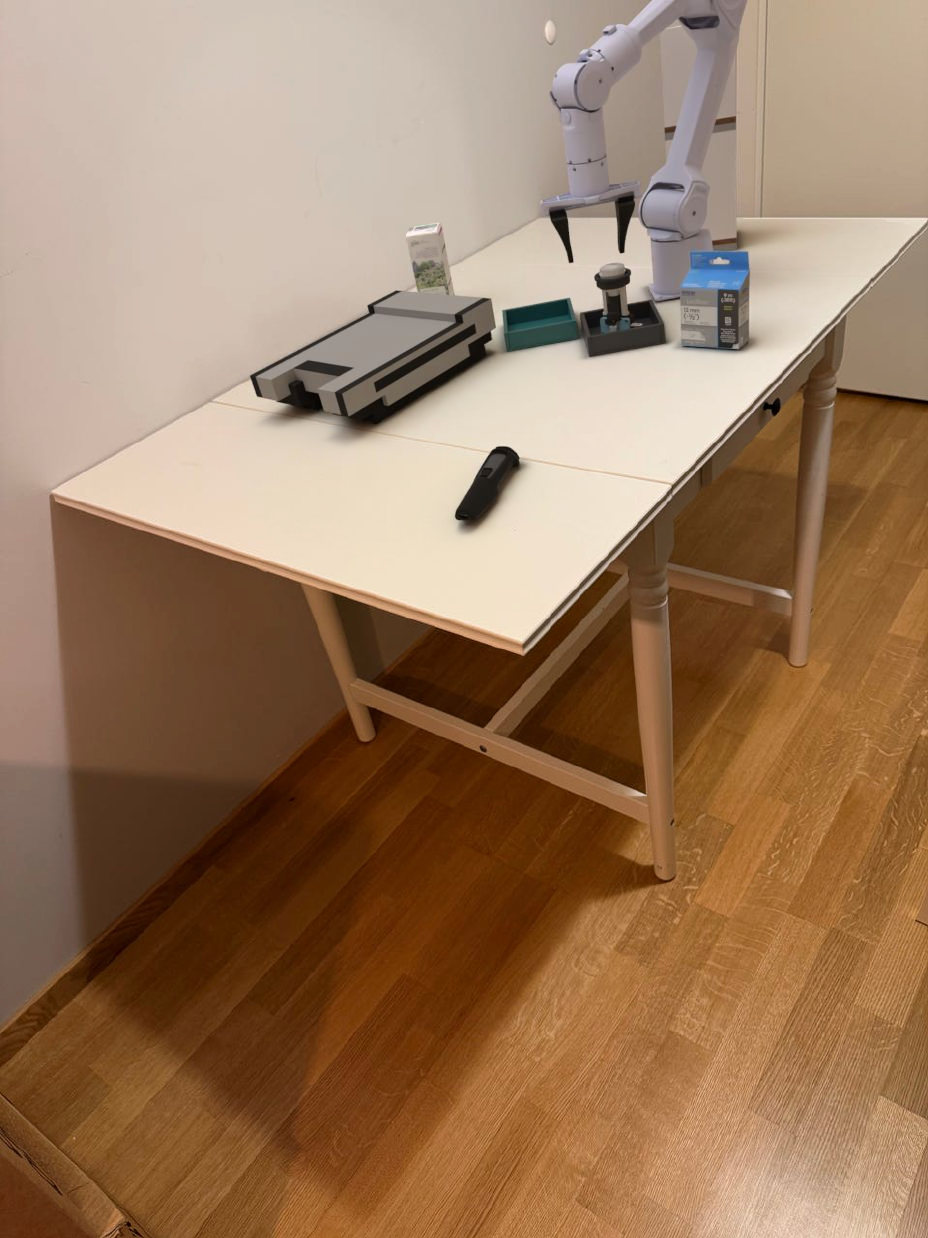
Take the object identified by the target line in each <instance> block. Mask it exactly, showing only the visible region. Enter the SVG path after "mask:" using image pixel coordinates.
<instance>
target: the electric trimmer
mask: <svg viewBox="0 0 928 1238" xmlns="http://www.w3.org/2000/svg"><path fill="white" fill-rule="evenodd" d="M520 463H521V462H520V456H519V454H518V453H517V451H516V450H515V449H513V448H512V447H510V446H507V445H499V446H496V447H495V448H493V449H491V450H490V452H489V454H488V455H487V456H486V458H485V460H484V461H483V463H482V464H481V466H480V468H479V470H478V471H477V473H476V475H475V477H474V479H473V481H472V483H471V485H470V487H469V488H468V490H467V492H466V493H465V494H464V497H463V498H462V500H461V501H460V503H459V505H458V506H457V508H456V509H455V513H454V519H455V520H456V521H463V522H465V521H467V522H474V521H476V520H477V519H478V518H479V517H480V516H481V515H482V514H483V513H484V512H485V511H486V510H487V509H488V508H489V507H490V506H491V504H492V503H493V502H494V501H495V500H496V499H497V497H498V496H499V486H500V485H501V483H502V482H503V480H504V478H505V477H506V475H507V474H508V472H509V471H510V470H511V468H512V467H518V466H519V465H520Z"/></svg>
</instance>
